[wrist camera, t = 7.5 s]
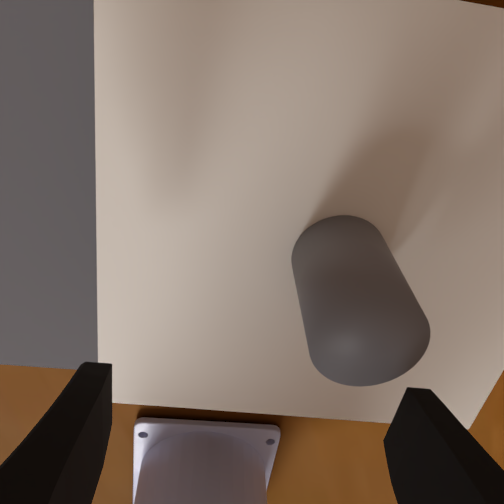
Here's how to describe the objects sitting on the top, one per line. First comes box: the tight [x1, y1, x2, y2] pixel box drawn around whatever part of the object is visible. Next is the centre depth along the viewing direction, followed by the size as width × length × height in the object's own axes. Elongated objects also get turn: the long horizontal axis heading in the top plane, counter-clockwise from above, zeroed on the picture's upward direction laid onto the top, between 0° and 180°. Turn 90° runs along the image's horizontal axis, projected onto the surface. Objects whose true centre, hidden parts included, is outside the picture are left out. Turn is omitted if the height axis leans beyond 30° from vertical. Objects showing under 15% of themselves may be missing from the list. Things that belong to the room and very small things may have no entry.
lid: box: [94, 0, 504, 429], centre depth 14 cm, size 15×15×5 cm
